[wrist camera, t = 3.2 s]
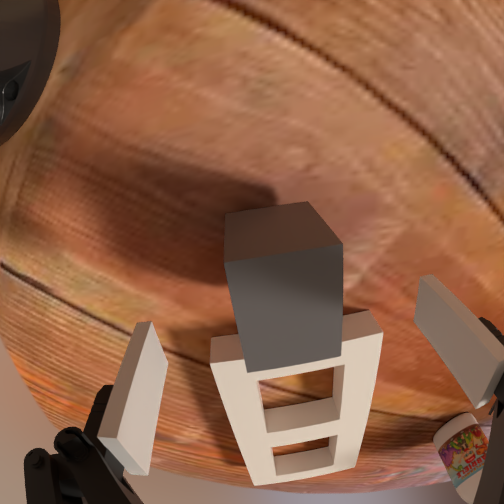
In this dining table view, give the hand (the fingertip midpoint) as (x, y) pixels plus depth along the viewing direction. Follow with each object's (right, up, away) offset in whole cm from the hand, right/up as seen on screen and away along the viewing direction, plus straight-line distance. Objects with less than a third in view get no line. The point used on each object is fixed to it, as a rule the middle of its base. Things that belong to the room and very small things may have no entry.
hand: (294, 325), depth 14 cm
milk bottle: (+30, -24, +23) cm, 45 cm away
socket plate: (+3, -13, +15) cm, 20 cm away
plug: (-1, +4, +7) cm, 8 cm away
